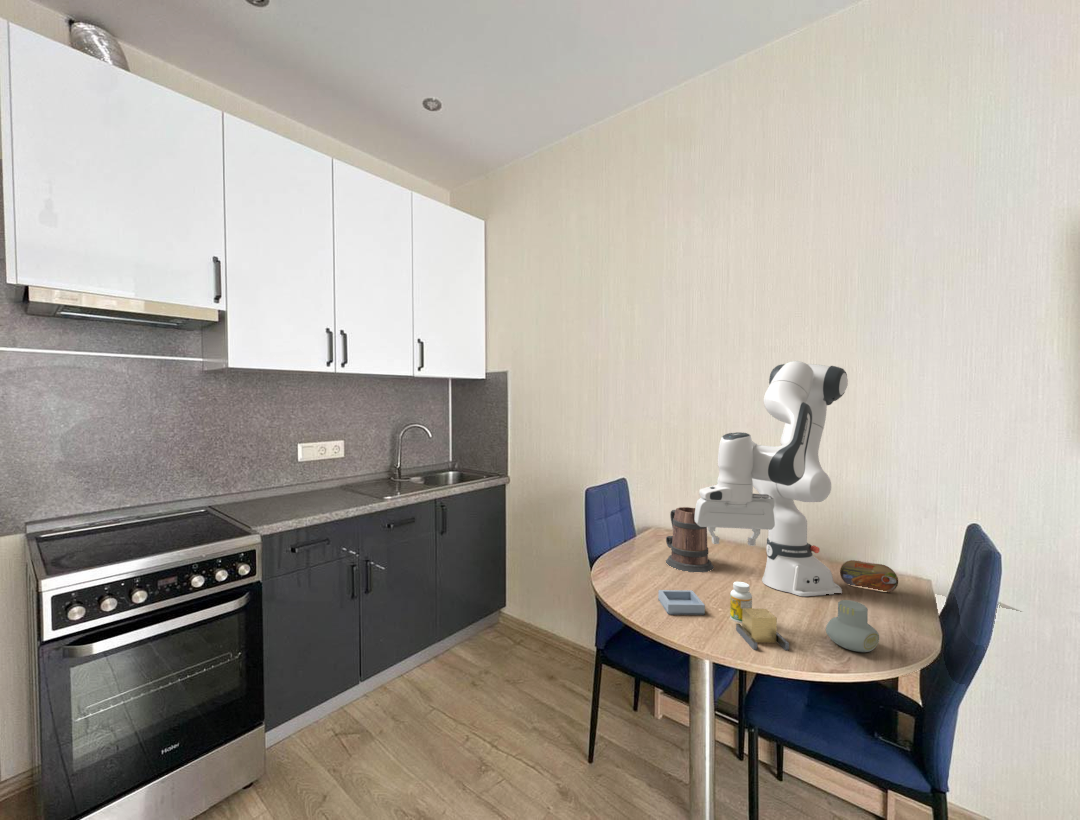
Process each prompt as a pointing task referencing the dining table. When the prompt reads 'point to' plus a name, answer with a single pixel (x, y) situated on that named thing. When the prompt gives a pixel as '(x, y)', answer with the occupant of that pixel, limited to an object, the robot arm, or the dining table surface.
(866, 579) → the tin
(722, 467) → the robot arm
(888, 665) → the dining table surface
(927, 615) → the dining table surface
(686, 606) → the tray
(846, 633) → the grey rounded piece
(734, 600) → the supplement bottle
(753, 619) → the block
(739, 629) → the piston track
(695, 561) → the tankard
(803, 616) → the dining table surface
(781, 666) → the dining table surface
